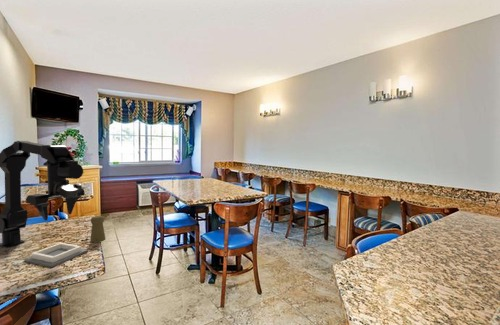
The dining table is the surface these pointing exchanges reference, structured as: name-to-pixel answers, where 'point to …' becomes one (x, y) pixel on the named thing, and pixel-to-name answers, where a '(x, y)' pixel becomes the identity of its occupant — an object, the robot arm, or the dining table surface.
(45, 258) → the grey square tray
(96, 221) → the olive tapered shaker
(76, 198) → the robot arm
